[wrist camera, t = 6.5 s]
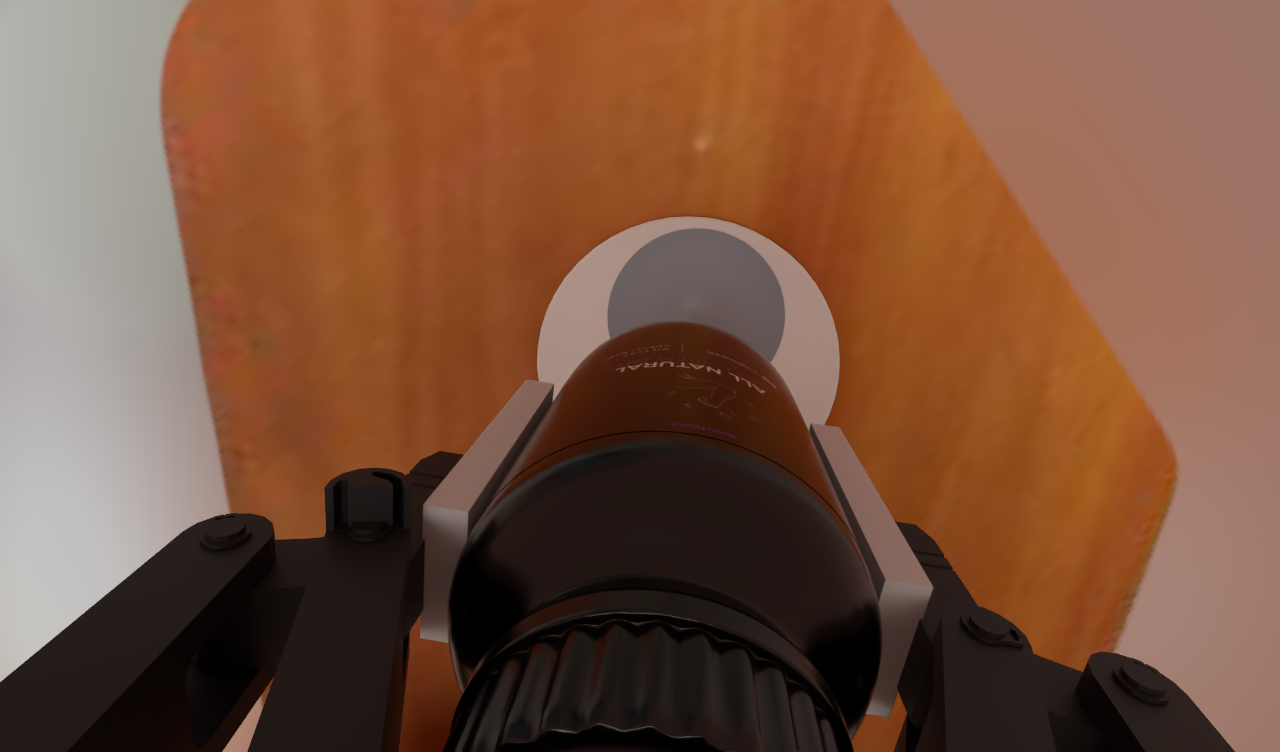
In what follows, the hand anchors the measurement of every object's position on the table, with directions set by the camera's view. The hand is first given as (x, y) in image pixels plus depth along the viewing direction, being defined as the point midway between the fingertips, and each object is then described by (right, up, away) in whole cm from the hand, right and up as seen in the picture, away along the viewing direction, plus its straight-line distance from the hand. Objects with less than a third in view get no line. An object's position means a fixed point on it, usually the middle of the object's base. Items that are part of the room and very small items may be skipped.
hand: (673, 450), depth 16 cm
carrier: (+2, +2, +17) cm, 17 cm away
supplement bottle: (0, 0, +1) cm, 1 cm away
